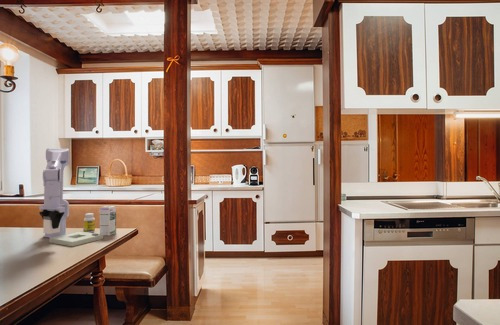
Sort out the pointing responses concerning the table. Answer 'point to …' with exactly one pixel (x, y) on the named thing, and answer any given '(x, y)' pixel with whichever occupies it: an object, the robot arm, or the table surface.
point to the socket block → (76, 238)
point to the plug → (49, 226)
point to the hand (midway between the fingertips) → (51, 227)
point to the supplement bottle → (89, 223)
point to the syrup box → (108, 220)
